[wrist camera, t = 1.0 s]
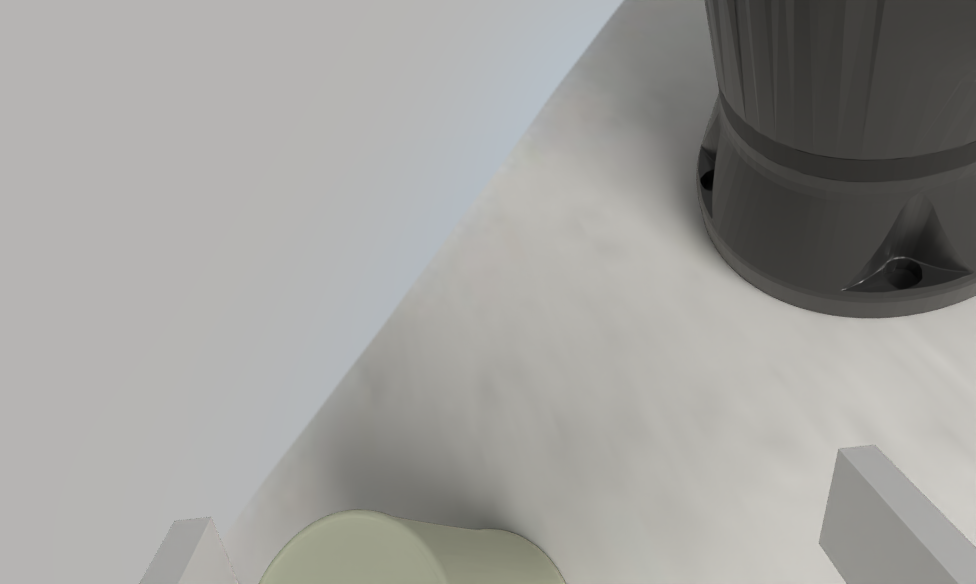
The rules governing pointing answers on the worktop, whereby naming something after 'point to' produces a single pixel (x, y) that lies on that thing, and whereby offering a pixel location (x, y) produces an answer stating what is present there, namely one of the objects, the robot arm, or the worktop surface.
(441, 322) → the worktop surface
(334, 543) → the can
